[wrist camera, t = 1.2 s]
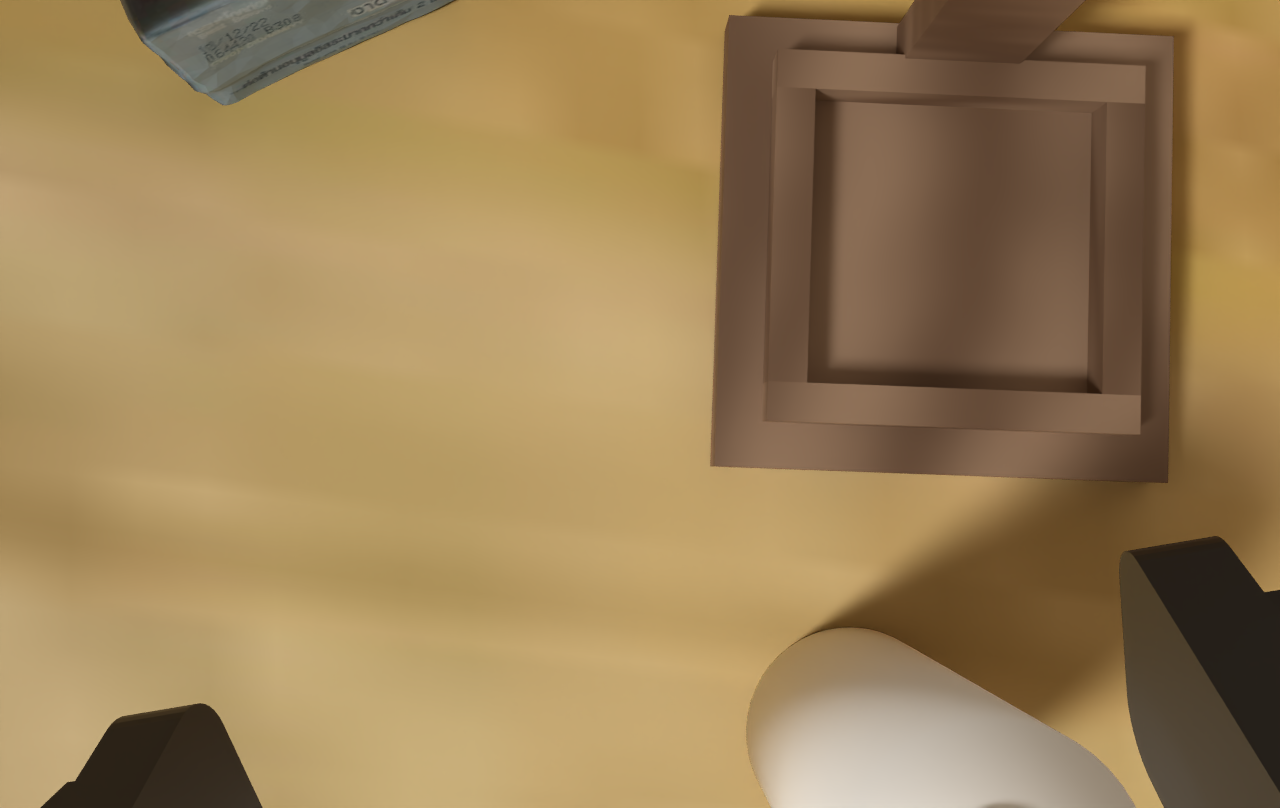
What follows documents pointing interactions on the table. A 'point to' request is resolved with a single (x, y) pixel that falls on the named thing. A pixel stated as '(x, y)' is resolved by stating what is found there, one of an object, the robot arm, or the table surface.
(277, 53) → the beverage carton
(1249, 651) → the robot arm
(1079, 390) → the walnut holder
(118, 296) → the table surface
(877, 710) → the paper roll
